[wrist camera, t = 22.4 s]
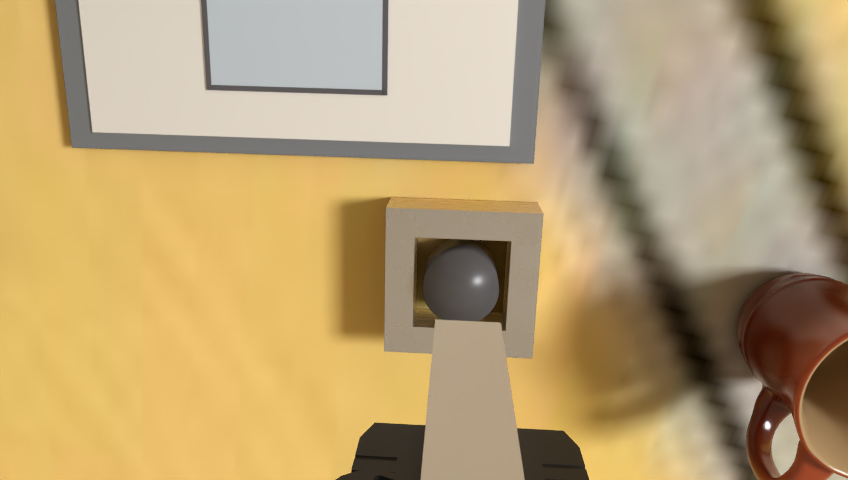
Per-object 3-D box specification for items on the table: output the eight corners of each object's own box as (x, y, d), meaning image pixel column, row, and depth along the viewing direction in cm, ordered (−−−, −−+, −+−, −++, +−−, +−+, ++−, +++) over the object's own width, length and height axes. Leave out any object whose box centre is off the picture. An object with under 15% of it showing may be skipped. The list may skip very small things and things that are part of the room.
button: (424, 303, 42) (422, 322, 39) (426, 236, 41) (424, 251, 38) (494, 306, 42) (496, 326, 39) (498, 239, 41) (501, 254, 38)
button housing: (389, 331, 44) (384, 351, 41) (391, 196, 41) (385, 207, 38) (527, 338, 43) (532, 358, 40) (537, 202, 41) (543, 213, 38)
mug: (777, 229, 40) (879, 285, 30) (892, 300, 41) (1028, 377, 31) (659, 381, 43) (717, 477, 34) (768, 444, 44) (856, 556, 34)
